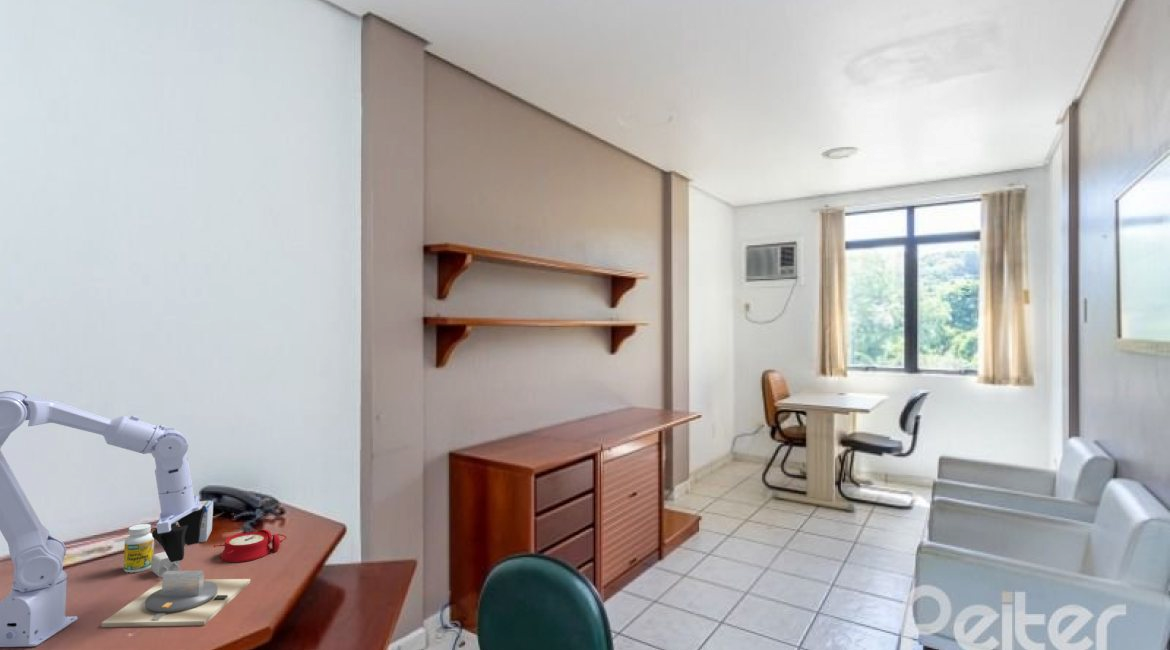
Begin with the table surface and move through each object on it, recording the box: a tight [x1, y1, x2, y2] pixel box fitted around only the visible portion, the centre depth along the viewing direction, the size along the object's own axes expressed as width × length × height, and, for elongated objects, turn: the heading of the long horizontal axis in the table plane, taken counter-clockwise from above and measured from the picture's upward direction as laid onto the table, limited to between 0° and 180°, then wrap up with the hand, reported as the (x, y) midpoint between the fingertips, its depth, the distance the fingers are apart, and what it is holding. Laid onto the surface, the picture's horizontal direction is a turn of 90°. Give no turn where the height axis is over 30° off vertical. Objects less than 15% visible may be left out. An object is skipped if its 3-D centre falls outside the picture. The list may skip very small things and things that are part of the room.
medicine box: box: [197, 500, 214, 544], centre depth 149 cm, size 8×4×9 cm, turn 25°
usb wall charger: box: [150, 551, 181, 578], centre depth 128 cm, size 4×7×4 cm, turn 55°
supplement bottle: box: [123, 523, 155, 574], centre depth 130 cm, size 5×5×10 cm
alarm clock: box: [213, 529, 287, 563], centre depth 141 cm, size 10×6×15 cm
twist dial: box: [145, 570, 218, 613], centre depth 115 cm, size 12×12×5 cm
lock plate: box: [100, 578, 251, 628], centre depth 115 cm, size 18×18×1 cm
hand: (185, 551), depth 117 cm, fingers open, 7 cm apart
